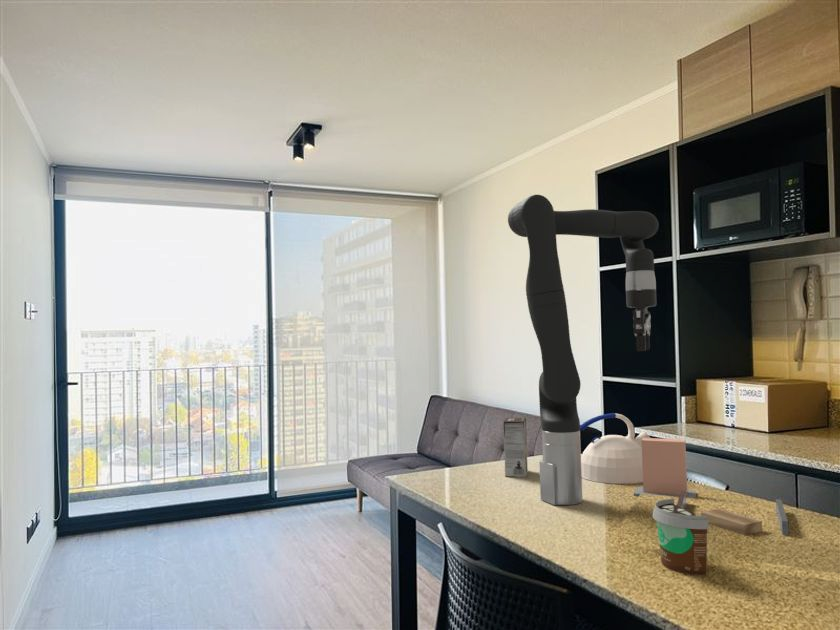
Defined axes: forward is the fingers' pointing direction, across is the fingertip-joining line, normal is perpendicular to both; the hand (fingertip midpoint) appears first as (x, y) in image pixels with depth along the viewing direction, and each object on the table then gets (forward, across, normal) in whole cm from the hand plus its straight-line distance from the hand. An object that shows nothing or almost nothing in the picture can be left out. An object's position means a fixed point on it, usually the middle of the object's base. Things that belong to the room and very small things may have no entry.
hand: (643, 350), depth 163 cm
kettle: (+36, -13, -10) cm, 40 cm away
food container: (+36, +55, +10) cm, 67 cm away
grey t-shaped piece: (+36, +4, +4) cm, 37 cm away
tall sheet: (+36, +4, +4) cm, 36 cm away
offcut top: (+35, +32, +19) cm, 51 cm away
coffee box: (+36, -6, -38) cm, 53 cm away
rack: (+36, +25, +19) cm, 48 cm away
